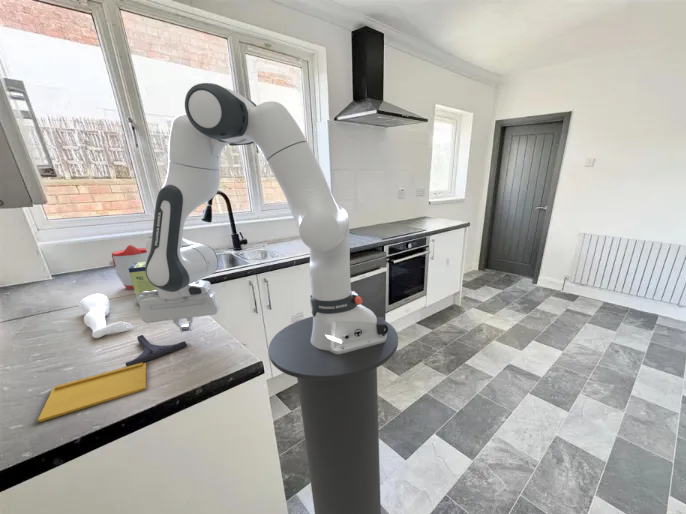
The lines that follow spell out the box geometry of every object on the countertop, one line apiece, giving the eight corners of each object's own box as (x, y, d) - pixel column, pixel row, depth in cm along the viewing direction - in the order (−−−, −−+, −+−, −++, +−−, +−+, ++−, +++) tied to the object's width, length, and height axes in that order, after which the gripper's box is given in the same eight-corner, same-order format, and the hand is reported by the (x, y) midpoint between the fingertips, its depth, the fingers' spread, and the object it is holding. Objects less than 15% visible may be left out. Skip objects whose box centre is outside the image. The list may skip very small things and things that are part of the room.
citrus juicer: (116, 286, 148) (102, 245, 141) (159, 279, 158) (149, 240, 151) (116, 295, 136) (102, 250, 130) (163, 286, 147) (152, 244, 140)
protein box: (183, 298, 131) (174, 263, 126) (138, 305, 124) (127, 268, 119) (184, 291, 140) (176, 257, 134) (142, 297, 133) (132, 262, 127)
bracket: (167, 333, 101) (165, 325, 100) (187, 346, 92) (185, 338, 91) (112, 352, 90) (108, 344, 89) (128, 369, 81) (125, 360, 81)
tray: (146, 364, 83) (145, 361, 83) (145, 389, 73) (144, 385, 73) (53, 390, 74) (52, 386, 73) (38, 422, 64) (36, 418, 63)
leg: (108, 288, 123) (72, 295, 116) (129, 316, 102) (87, 327, 95) (113, 303, 126) (78, 311, 118) (135, 334, 105) (94, 346, 97)
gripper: (129, 296, 85) (143, 340, 89) (210, 287, 90) (220, 330, 94) (139, 289, 91) (152, 331, 95) (215, 281, 96) (224, 321, 100)
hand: (187, 330), depth 95 cm, fingers closed
